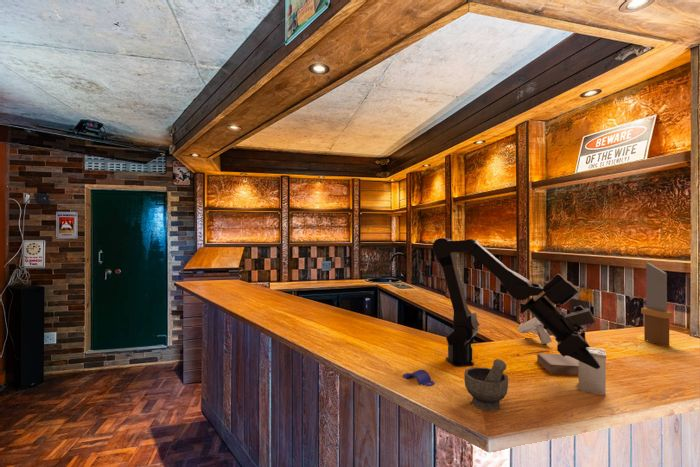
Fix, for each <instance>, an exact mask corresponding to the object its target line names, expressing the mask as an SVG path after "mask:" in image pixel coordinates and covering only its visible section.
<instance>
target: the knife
mask: <svg viewBox="0 0 700 467" xmlns="http://www.w3.org/2000/svg"><path fill="white" fill-rule="evenodd" d="M645 266H646V268H645V273H646V274H645V275H646V276H645V278H646V280H645V282H646V284H645V285H646V288H645V289H646V298H645V299H646V300H645V302H646V307H641V309H640V312H641V315H643V317H644V324H643V325H644V329H643V330H644V332H643V333H644V336H643V338H644V340H643V341H645V340H648V341H651V342H654V343H653V344H655V343H657V344H656V345H658V344H660V345H659V346H662V345H669V346H670V319H673V318H674V317H673V314H674V313H673V312H671V311H668V273H667V272H666V271H664V270H662V269H660V268H659V267H657V266H655V265H653V264H652V263H650V262H645ZM648 341H647V342H648ZM651 342H650V343H651Z"/></svg>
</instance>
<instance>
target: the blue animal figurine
mask: <svg viewBox="0 0 700 467" xmlns="http://www.w3.org/2000/svg"><path fill="white" fill-rule="evenodd" d="M402 377H403V379H405V380H406V379H407V380H406V381H408V380H410V379H413V378H416V380H417V381H418V384H420V385H419V386H421V384H423V385H422V386H425V385H426V386H425V387H432V386H434V385H435V384H436V382H435V381H433V380H432V378H431V376H430V374H429V373H428V371H426V370H424V369H417V370H416V371H414V372H409V373H407V372H406V373H403V375H402ZM412 377H413V378H412Z"/></svg>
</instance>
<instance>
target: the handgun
mask: <svg viewBox="0 0 700 467" xmlns="http://www.w3.org/2000/svg"><path fill="white" fill-rule="evenodd" d="M535 330H536V331H535ZM517 332H518V333H519V334H528V333H531V332H532V334H533V335H535V336H536V335H538V337H539V338H538V339H539V341H540V344H541V345H547V344H550V343H552V342H553V339H552V337H551V336H550V334H549V331H548V330H547V329H546V330H545V329H544V328H543V325H542V324H541V323H540V322H539V321H538V320H537V319H536V318H535V316H533V318H530V319H529V320H528V321H525V322H523V323H522V322H520V325H519V326H518V330H517Z"/></svg>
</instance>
